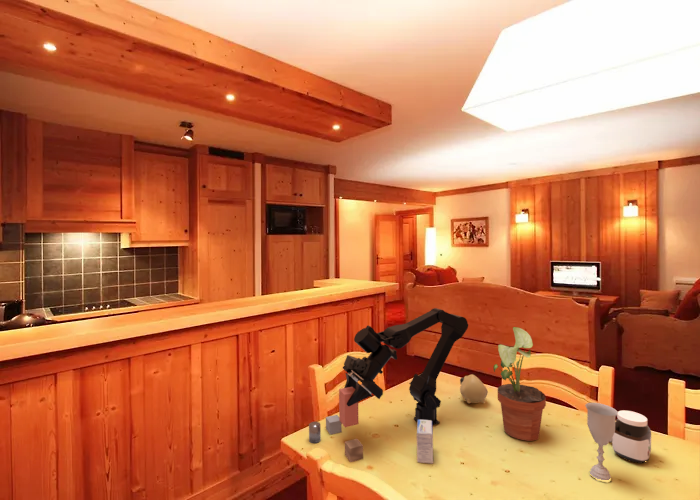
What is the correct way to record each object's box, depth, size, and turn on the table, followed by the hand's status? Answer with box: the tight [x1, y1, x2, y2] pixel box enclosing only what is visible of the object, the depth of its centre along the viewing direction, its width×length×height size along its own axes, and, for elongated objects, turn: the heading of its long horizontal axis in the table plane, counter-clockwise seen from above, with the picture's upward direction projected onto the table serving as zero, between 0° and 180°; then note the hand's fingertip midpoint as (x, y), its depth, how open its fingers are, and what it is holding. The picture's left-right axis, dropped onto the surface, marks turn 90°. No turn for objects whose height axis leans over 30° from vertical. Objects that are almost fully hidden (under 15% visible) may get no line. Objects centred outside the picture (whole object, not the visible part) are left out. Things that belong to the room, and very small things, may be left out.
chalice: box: [584, 402, 618, 480], centre depth 95 cm, size 7×7×18 cm
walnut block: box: [344, 438, 364, 463], centre depth 105 cm, size 4×4×4 cm
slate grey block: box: [325, 414, 343, 436], centre depth 120 cm, size 4×4×4 cm
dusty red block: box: [338, 387, 360, 428], centre depth 113 cm, size 4×4×10 cm
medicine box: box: [416, 420, 434, 464], centre depth 106 cm, size 8×4×9 cm, turn 168°
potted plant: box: [493, 326, 547, 442], centre depth 116 cm, size 16×15×35 cm
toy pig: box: [459, 373, 489, 404], centre depth 140 cm, size 10×12×11 cm
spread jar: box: [609, 409, 652, 464], centre depth 106 cm, size 12×11×12 cm
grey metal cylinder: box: [308, 421, 322, 444], centre depth 114 cm, size 4×4×5 cm
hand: (344, 402), depth 113 cm, fingers closed on dusty red block, 4 cm apart
